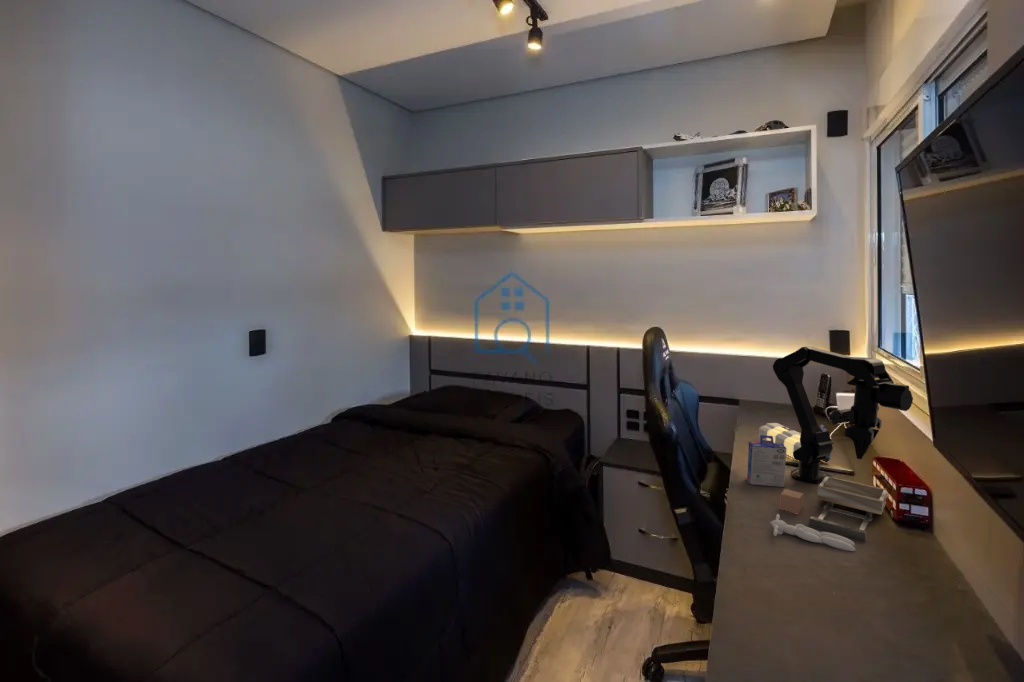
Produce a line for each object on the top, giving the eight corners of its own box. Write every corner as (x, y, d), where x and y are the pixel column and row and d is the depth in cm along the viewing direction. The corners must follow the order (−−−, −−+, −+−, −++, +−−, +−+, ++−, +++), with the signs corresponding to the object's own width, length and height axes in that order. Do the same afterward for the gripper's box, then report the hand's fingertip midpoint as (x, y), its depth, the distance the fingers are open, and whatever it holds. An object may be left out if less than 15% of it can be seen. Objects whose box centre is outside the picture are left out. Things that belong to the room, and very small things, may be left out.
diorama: (830, 465, 178) (833, 427, 177) (802, 466, 177) (805, 428, 175) (782, 442, 203) (785, 409, 201) (758, 443, 202) (760, 410, 200)
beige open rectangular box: (825, 492, 153) (826, 475, 152) (886, 507, 143) (887, 489, 143) (816, 503, 145) (817, 486, 145) (880, 520, 135) (882, 501, 135)
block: (784, 504, 146) (785, 489, 146) (802, 509, 144) (803, 493, 143) (779, 509, 143) (780, 493, 143) (797, 514, 140) (799, 498, 140)
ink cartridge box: (779, 480, 163) (783, 435, 162) (785, 487, 158) (788, 440, 156) (745, 478, 165) (748, 433, 164) (749, 484, 160) (752, 438, 158)
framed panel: (832, 493, 154) (832, 486, 154) (881, 505, 146) (882, 498, 146) (808, 525, 134) (809, 518, 133) (865, 541, 126) (865, 533, 126)
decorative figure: (854, 532, 127) (772, 507, 136) (858, 555, 117) (769, 526, 126) (851, 545, 128) (770, 520, 137) (854, 569, 118) (766, 540, 126)
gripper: (839, 393, 161) (835, 442, 163) (825, 403, 147) (821, 457, 149) (883, 399, 154) (878, 450, 155) (873, 410, 140) (868, 467, 142)
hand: (861, 456), depth 151 cm, fingers open, 6 cm apart
